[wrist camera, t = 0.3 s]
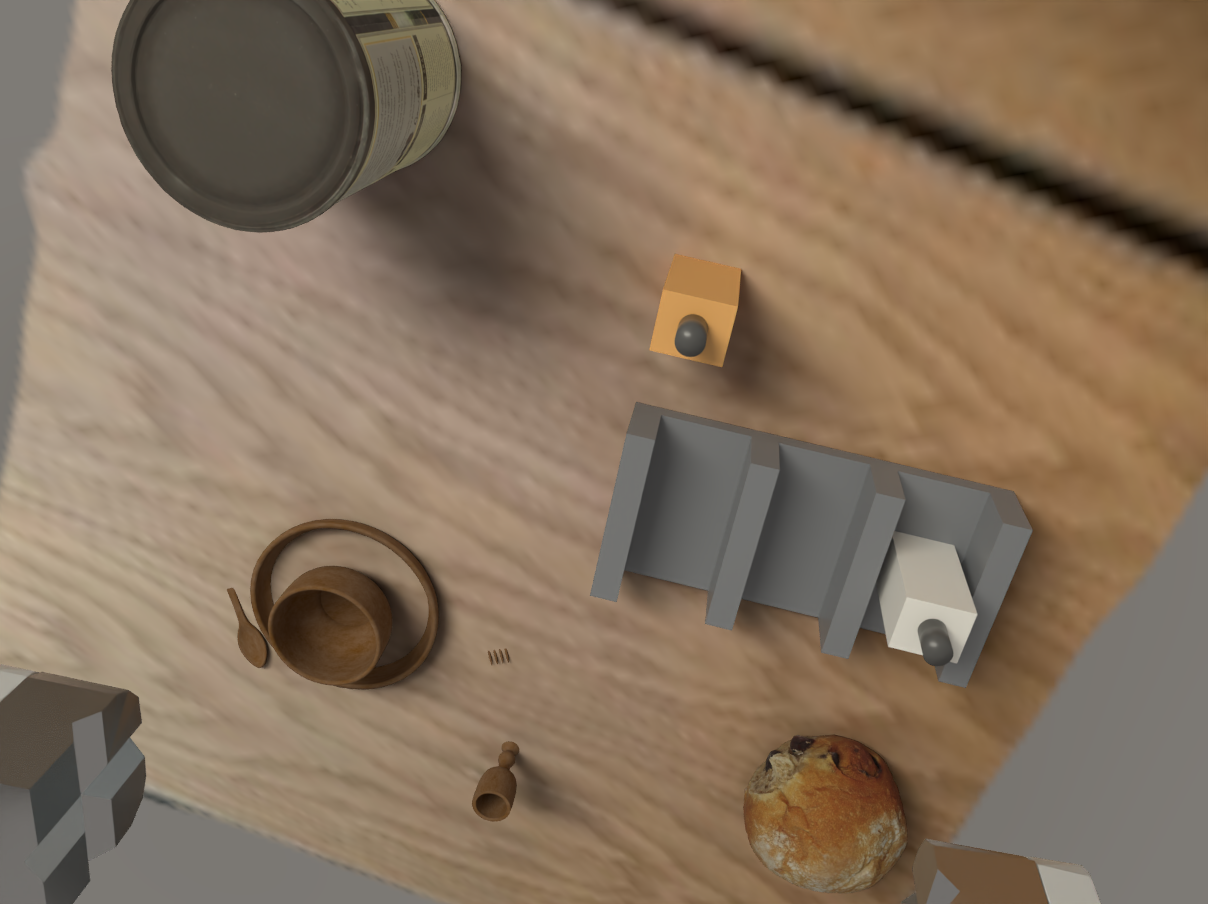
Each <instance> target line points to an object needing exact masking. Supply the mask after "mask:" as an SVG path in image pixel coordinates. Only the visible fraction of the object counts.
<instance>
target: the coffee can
mask: <svg viewBox="0 0 1208 904" xmlns="http://www.w3.org/2000/svg"><path fill="white" fill-rule="evenodd" d="M111 71H112V84H113V91H114V97H115V103H116V108H117V110H118V113H119V117H120V121H121V124H122V127H123V129H124V132H125V134H126V136H127V138H128V140H129V142H130V144H131V146H132V148H133V150H134V152H135V154H136V156H137V157H138V159H139V160H140V162H141V163H142V165H143V166H144V168H145V169H146V170H147V171H148V173H149V174H150V175H151V176H152V177H153V179H154V180H155V181H156V182H157V183H158V184H159V185H160V187H161V188H162V189H163V190H164V191H165V192H166V193H167V194H169V195H170V196H171V197H172V198H173V199H175V200H176V201H177V202H178V203H180V204H181V205H182V206H184V207H185V208H187V209H188V210H190V211H191V212H193V213H195V214H197V215H199V216H200V217H202V218H204V219H206V220H208V221H210V222H213V223H215V224H218V225H221V226H224V227H227V228H231V229H235V230H240V231H248V232H259V233H260V232H274V231H281V230H287V229H291V228H294V227H296V226H299V225H302V224H304V223H307V222H309V221H311V220H313V219H314V218H316V217H318V216H319V215H321V214H323V213H324V212H325V211H327V210H328V209H329V208H331V207H332V206H333V205H334V204H335V203H337V202H339V201H341V200H343V199H345V198H347V197H348V196H350V195H352V194H354V193H356V192H358V191H360V190H361V189H363V188H365V187H367V186H369V185H371V184H373V183H375V182H376V181H378V180H380V179H382V178H384V177H385V176H387V175H389V174H391V173H393V172H395V171H396V170H399V169H402V168H405V167H407V166H409V165H411V164H413V163H415V162H417V161H418V160H420V159H421V158H423V157H424V156H425V155H427V154H428V153H429V152H430V151H431V150H432V149H433V148H434V147H435V146H436V145H437V144H438V143H439V142H440V140H441V139H442V138H443V136H444V134H445V133H446V131H447V129H448V128H449V126H450V124H451V122H452V120H453V117H454V114H455V112H456V109H457V105H458V100H459V95H460V87H461V63H460V59H459V54H458V48H457V44H456V41H455V38H454V35H453V32H452V30H451V27H450V25H449V23H448V21H447V19H446V17H445V15H444V14H443V12H442V11H441V9H440V8H439V6H438V5H437V3H436V2H435V1H434V0H130V1H129V3H128V5H127V7H126V9H125V11H124V13H123V15H122V18H121V20H120V22H119V26H118V28H117V31H116V35H115V39H114V44H113V52H112V70H111Z"/></svg>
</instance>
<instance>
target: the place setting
mask: <svg viewBox="0 0 1208 904" xmlns="http://www.w3.org/2000/svg"><path fill="white" fill-rule="evenodd" d="M320 528H335V529H342V530H348V531H352V532H356V533H359V534H362V535H365V536H367V537H370V538H372V539H374V540H376V541H378V542H380V543H382V544H383V545H385V546H386V547H388V548H389V549H391V550H392V551H393V552H395V553H396V554H397V555H398V556H399V557H401V558H402V559H403V560H404V561H405V562H406V563H407V565H408V566H409V567H410V568H411V569H412V570H413V572H414V573H415V574H416V576H417V577H418V579H419V581H420V582H421V584H422V586H423V588H424V590H425V592H426V595H427V597H428V604H429V617H428V623H427V627H426V630H425V633H424V635H423V637H422V638H421V640H420V642H419V643H418V644H417V646H416V647H415V648H414V649H413V650H412V651H411V652H410V653H409V654H407V655H406V656H405V657H403V658H402V659H400V660H398V661H396V662H394V663H391V664H388V665H385V666H380V667H375V666H376V664H377V662H378V660H379V659H380V657H381V655H382V653H383V651H384V649H385V648H386V646H387V643H388V641H389V638H390V635H391V630H392V613H391V609H390V606H389V603H388V601H387V599H386V597H385V595H384V594H383V592H382V591H381V590H380V588H379V587H378V586H377V585H376V584H375V583H374V582H373V581H372V580H370V579H369V578H368V577H366V576H365V575H363V574H361V573H359V572H357V571H355V570H352V569H349V568H345V567H339V566H324V567H319V568H315V569H313V570H310V571H308V572H306V573H304V574H302V575H301V576H300V577H298V578H297V579H296V580H295V581H294V582H293V583H292V584H291V585H290V586H289V587H288V588H287V589H286V590H285V592H284V593H283V594H282V595H281V597H280V598H279V599H278V600H277V602H276V603H275V604H273V600H272V595H271V585H270V583H271V574H272V570H273V566H274V564H275V561H276V559H277V557H278V556H279V554H280V552H281V551H282V550H283V549H284V547H285V546H286V545H287V544H288V543H290V542H291V541H292V540H293V539H295V538H296V537H298V536H300V535H301V534H303V533H306V532H308V531H311V530H315V529H320ZM227 591H228V594H229V596H230V599H231V601H232V604H233V606H234V609H235V612H236V614H237V618H238V621H239V629H238V645H239V648H240V650H241V652H242V653H243V655H244V656H245V657H246V659H247V660H248V661H249V662H250V663H251V664H253V665H254V666H255V667H257V668H261V667H263V666H264V665H265V663H266V660H267V646H266V643H265V640H264V638H263V636H262V635H261V633H260V632H259V630H258V629H257V628H256V627H255V626H253V625H252V624H251V623H250V622H249V621H248V620H247V618H246V617H245V615H244V612H243V610H242V607H241V605H240V602H239V599H238V597H237V594H236V592H235V590H234V589H233V588H229V589H227ZM250 593H251V603H252V608H253V612H254V615H255V618H256V621H257V623H258V625H259V627H260V629H261V631H262V633H263V634H264V636H265V637H266V639H267V641H268V642H269V643H270V645H271V646H272V647H273V648H274V649H275V651H276V653H277V654H278V656H279V657H280V658H281V660H282V661H283V662H284V663H285V664H286V665H287V666H288V667H289V668H290V669H292V670H293V671H294V672H296V673H297V674H299V675H300V676H302V677H304V678H306V679H308V680H311V681H313V682H317V683H320V684H325V685H333V686H337V687H342V688H349V689H374V688H379V687H384V686H388V685H390V684H393V683H396V682H398V681H400V680H402V679H404V678H406V677H407V676H409V675H410V674H411V673H413V672H414V671H415V670H416V669H417V668H418V667H419V666H420V665H421V664H422V663H423V661H424V660H425V659H426V657H427V656H428V654H429V652H430V650H431V648H432V646H433V643H434V640H435V637H436V634H437V629H438V618H439V611H438V604H437V598H436V594H435V591H434V588H433V586H432V583H431V581H430V579H429V577H428V575H427V573H426V572H425V570H424V568H423V567H422V566H421V564H420V563H419V562H418V560H417V559H416V558H415V557H414V556H413V555H412V554H411V553H410V551H409V550H408V549H406V548H405V547H404V546H403V545H402V544H400V543H399V542H398V541H397V540H395V539H393V538H392V537H390V536H389V535H387V534H386V533H384V532H382V531H380V530H378V529H376V528H373V527H370V526H368V525H365V524H362V523H358V522H354V521H349V520H341V519H323V520H315V521H311V522H307V523H303V524H300V525H298V526H295V527H293V528H291V529H289V530H288V531H286V532H284V533H282V534H281V535H280V536H278V537H277V538H276V539H275V540H274V541H272V542H271V543H270V545H269V546H268V547H267V548H266V549H265V550H264V551H263V553H262V554H261V556H260V557H259V559H258V561H257V563H256V565H255V568H254V570H253V574H252V579H251V588H250ZM493 652H494V656H495V660H496V663H497V664H498V660H497V654H496V651H495V650H494V651H493ZM499 653H500V657H501V660H502V663H503V656H502V651H501V650H500V649H499ZM505 654H506V658H507V661H508V663H509V658H508V652H507V649H506V648H505ZM488 655H489V659H490V662H491V665H492V658H491V653H490V651H488ZM374 667H375V668H374ZM502 751H503V752H502V753H501V754H500V756H499V759H498V761H499V766H498V767H492V768H490V769H488V770H487V771H486V772H485V773H484V774H483V776H482V777H481V779H480V781H479V783H478V786H477V788H476V791H475V794H474V797H473V800H472V806H473V809H474V811H475V812H476V814H477V815H478V816H480V817H481V818H483V819H485V820H488V821H501V820H503V819H505V818H506V817H507V816H508V815H509V813H510V811H511V808H512V805H513V802H514V798H515V794H516V787H517V784H516V779H515V776H514V775H513V773H512V772H511V771H510V768H511V767H512V766H513V764H514V763H515V755H517V754H518V752H519V747H518V745H517V744H515V743H514V742H505V743H504V744H503V745H502Z"/></svg>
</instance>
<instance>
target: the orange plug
mask: <svg viewBox="0 0 1208 904" xmlns="http://www.w3.org/2000/svg"><path fill="white" fill-rule="evenodd" d="M740 277H741V269H739V268H734V267H730V266H726V265H721V264H717V263H713V262H708V261H704V260H700V259H695V258H691V257H687V256H682V255H678V254H675V255H674V258H673V261H672V264H671V267H670V270H669V273H668V276H667V279H666V282H665V285H664V288H663V292H662V296H661V301H660V305H659V310H658V314H657V318H656V323H655V327H654V332H653V336H652V340H651V345H650V349H649V350H651V351H655V352H659V353H663V354H668V355H672V356H676V357H680V358H685V359H689V360H693V361H697V362H702V363H706V364H710V365H715V366H719V367H722V366H723V362H724V358H725V355H726V351H727V347H728V343H729V339H730V335H731V332H732V328H733V324H734V320H735V316H736V312H737V309H738V301H739V289H740Z"/></svg>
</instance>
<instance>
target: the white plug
mask: <svg viewBox="0 0 1208 904" xmlns="http://www.w3.org/2000/svg"><path fill="white" fill-rule="evenodd" d="M876 584H877V590H878V595H879V601H880V606H881V611H882V617H883V622H884V627H885V633H886V638H887V643H888V647H891V648H895V649H899V650H903V651H908V652H912V653H916V654H920V655H923V657H924V659H925V661H926V662H927V663H928V664H930V665H933V666H943V665H946V664H947V663H949V662H952V663H957V662H958V660H959V658H960V655H961V653H962V650H963V648H964V646H965V643H966V641H967V638H968V636H969V634H970V631H971V629H972V626H973V624H974V621H975V619H976V617H977V611H976V608H975V605H974V602H973V600H972V597H971V594H970V591H969V588H968V585H967V582H966V579H965V576H964V573H963V570H962V567H961V564H960V561H959V558H958V555H957V552H956V549H955V546H954V545H951V544H946V543H942V542H938V541H934V540H930V539H926V538H921V537H917V536H913V535H909V534H905V533H901V532H896V531H894V533H893V536H892V539H891V542H890V544H889V547H888V550H887V553H886V556H885V558H884V561H883V564H882V567H881V569H880V572H879V575H878V578H877V580H876Z"/></svg>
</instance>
